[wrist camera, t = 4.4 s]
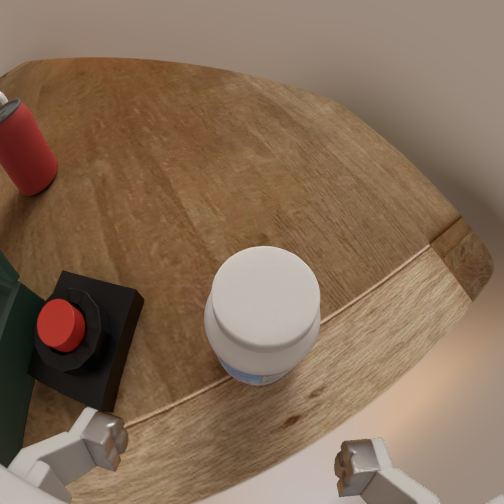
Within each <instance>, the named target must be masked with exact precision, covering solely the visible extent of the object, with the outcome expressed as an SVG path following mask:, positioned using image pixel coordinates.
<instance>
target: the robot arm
mask: <svg viewBox="0 0 504 504" xmlns="http://www.w3.org/2000/svg"><path fill="white" fill-rule="evenodd" d="M124 424H125V423H124V420H123V418H120V417H117V416H114V415H111V414H108V413H105V412H102V411H99V410H96V409H93V408H90V407H87V408H85V409H84V410H83V412H82V413H81V415H80V416H79V417H78V419H77V420H76V422H75V423H74V425H73V426H72V428H71V429H70V431H69V432H63V433H60V434H58V435H56V436H53V437H51V438H48V439H46V440H43V441H41V442H38V443H36V444H33V445H30V446H28V447H25V448H22V449H21V450H20V452H19V453H18V454H17V456H16V457H15V458H14V460H13V461H12V462H11V464H10V465H9V467H8V468H5V467H4V466H3V465H1V464H0V504H69V503H70V501H71V499H72V496H71V494H70V493H69V492H68V490H67V489H66V488H65V487H64V486H66V485H68V484H69V483H71V482H73V481H74V480H76V479H78V478H79V477H81V476H82V475H84V474H86V473H87V472H89V471H90V470H92V469H93V468H95V467H96V466H99V467H102V468H105V469H108V470H111V471H115V472H116V470H117V467H118V465H119V463H120V461H121V458H120V454H122V453H124V452H125V450H126V448H127V445H128V433H127V431H126V430H125V429H124V428H123V426H124ZM334 468H335V469H334V470H335V475H336V476H337V477H338V478H340V479H339V481H338V483H337V487H338V493H339V497H344V496H354V495H360V496H361V497H362V498H363V500H364V501H365V502H366V503H367V504H440V501H439V498H438V496H437V495H435V494H434V493H432V492H431V491H429V490H428V489H426V488H425V487H424V486H422V485H421V484H419V483H418V482H416V481H415V480H414V479H412V478H411V477H409V476H408V475H407V474H405V473H404V472H402V471H401V470H400V469H398V468H394V467H393V464H392V461H391V458H390V455H389V453H388V450H387V447H386V444H385V442H384V439H383V438H373V439H361V440H350V441H344V442H343V443H342V445H341V451H340V452H339V453H338V454H337V456H336V458H335V464H334ZM484 504H504V493H503V494H501V495H499V496H498V497H496V498H494V499H492V500H490V501H488V502H486V503H484Z"/></svg>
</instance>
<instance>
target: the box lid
mask: <svg viewBox="0 0 504 504" xmlns="http://www.w3.org/2000/svg"><path fill="white" fill-rule="evenodd" d="M0 277H1V278H3V279H6V280H8V281H10V282H13V283H16V282H17V280H18V278H19V274H18V273H17V272H16V270H15V269H14V268H13V266H12V265H11V264H10V262H9V261H8V260H7V258H6V257H5V256H4V254H3V253H2V251H1V250H0Z"/></svg>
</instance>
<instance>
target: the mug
mask: <svg viewBox="0 0 504 504" xmlns="http://www.w3.org/2000/svg"><path fill="white" fill-rule="evenodd" d="M0 102H1V103H2V105H4V104H5V103H7V102H8V100H7V98H6V97H5V95H4V94H3V93H1V92H0Z"/></svg>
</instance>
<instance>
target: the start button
mask: <svg viewBox="0 0 504 504" xmlns="http://www.w3.org/2000/svg"><path fill="white" fill-rule="evenodd" d="M85 328H86V327H85V320H84V317H83V315H82V314H81V312H80V311H79V310H77V309H76V308H75V307H73V306H72V305H71V304H70V303H68V302H67V301H65V300H62V299H55V300H52V301H50V302H48V303H47V304H46V305H45V306H44V307H43V308H42V310H41V312H40V314H39V317H38V321H37V330H38V334H39V337H40V339H41V340H42V341H43V342H44V343H45V344H46V345H48V346H50V347H52V348H54V349H56V350H58V351H61V352H70V351H72V350H74V349H76V348H77V347H78V346H79V345H80V343H81V342H82V340H83V338H84V335H85Z"/></svg>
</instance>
